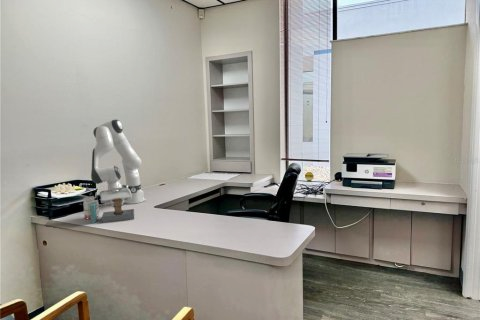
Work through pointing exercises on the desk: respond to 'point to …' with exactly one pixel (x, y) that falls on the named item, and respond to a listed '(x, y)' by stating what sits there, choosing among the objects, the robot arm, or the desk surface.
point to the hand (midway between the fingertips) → (117, 206)
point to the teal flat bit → (93, 212)
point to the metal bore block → (118, 215)
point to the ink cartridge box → (87, 206)
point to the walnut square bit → (117, 205)
